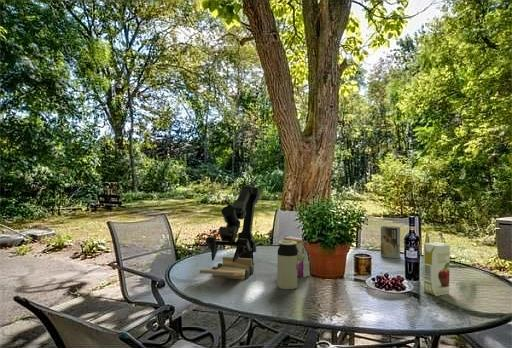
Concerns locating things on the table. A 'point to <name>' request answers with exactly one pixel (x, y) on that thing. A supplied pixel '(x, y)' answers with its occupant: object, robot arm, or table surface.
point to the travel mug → (287, 265)
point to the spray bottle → (300, 257)
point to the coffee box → (390, 242)
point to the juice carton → (436, 268)
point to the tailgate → (222, 272)
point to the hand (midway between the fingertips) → (222, 261)
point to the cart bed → (235, 267)
